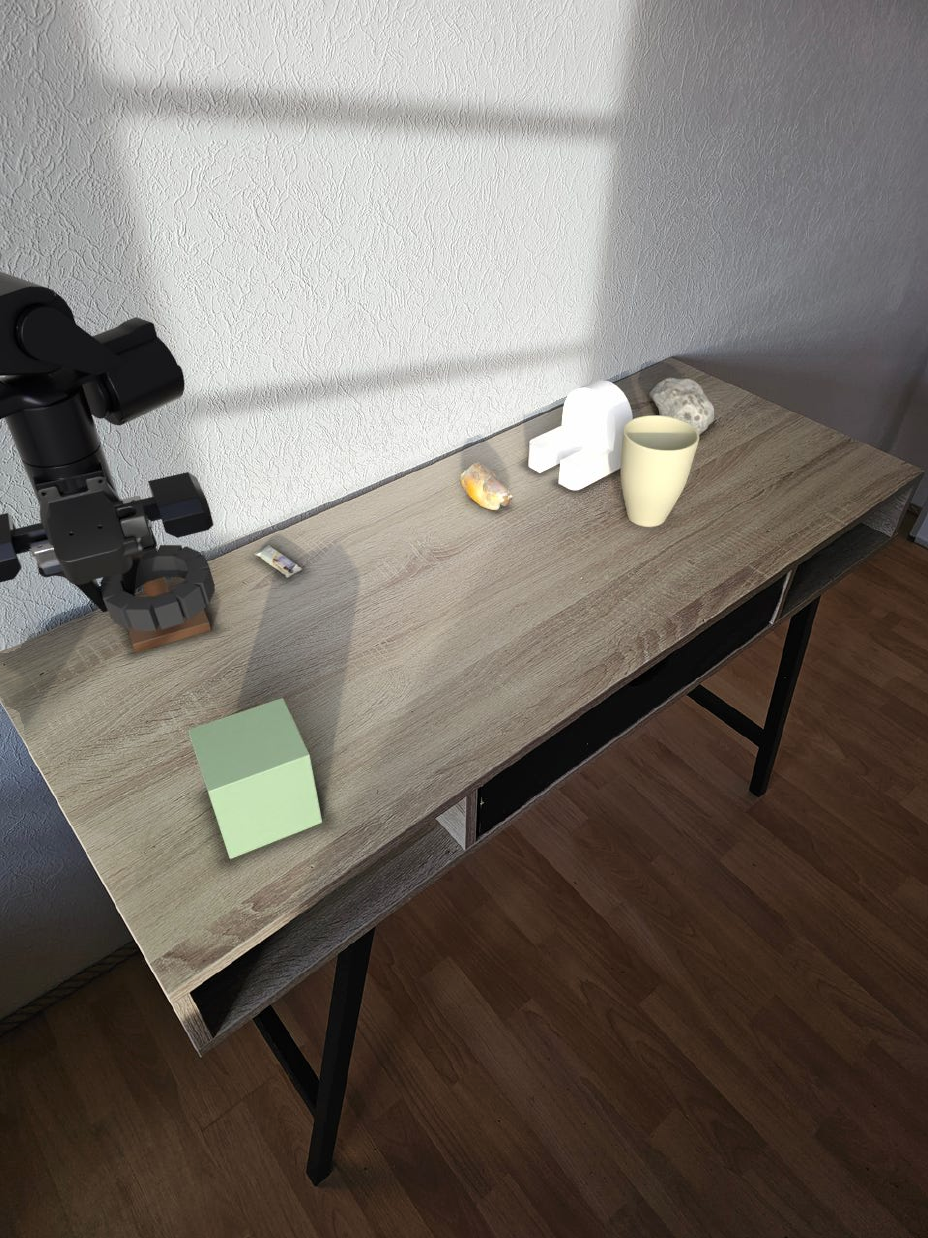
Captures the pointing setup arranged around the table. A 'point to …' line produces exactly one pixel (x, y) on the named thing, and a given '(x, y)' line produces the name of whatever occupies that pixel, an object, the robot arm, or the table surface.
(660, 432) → the mug
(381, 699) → the table surface
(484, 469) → the shell
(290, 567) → the granola bar
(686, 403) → the decorative stone
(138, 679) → the table surface
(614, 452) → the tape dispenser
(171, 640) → the stand
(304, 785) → the riser box
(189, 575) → the chunky treaded tire
